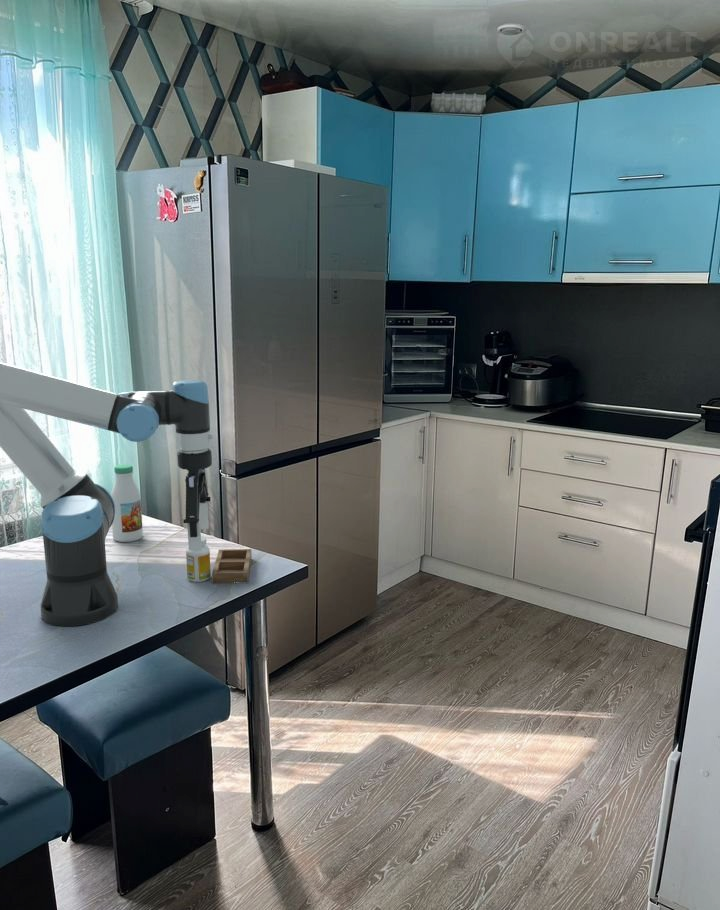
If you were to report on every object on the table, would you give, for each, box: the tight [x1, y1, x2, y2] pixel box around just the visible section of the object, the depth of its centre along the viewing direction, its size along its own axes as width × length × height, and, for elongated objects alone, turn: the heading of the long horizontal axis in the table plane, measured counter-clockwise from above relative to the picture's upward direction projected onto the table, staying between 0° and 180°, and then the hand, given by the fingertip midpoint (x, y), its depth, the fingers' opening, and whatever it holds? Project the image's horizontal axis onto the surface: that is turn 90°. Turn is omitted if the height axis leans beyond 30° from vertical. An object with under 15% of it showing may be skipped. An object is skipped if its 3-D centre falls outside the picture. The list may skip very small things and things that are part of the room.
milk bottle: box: [110, 463, 144, 543], centre depth 192 cm, size 8×8×20 cm
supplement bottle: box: [185, 535, 212, 583], centre depth 168 cm, size 5×5×10 cm
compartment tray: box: [211, 548, 253, 585], centre depth 173 cm, size 15×8×2 cm, turn 5°
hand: (199, 538), depth 167 cm, fingers open, 13 cm apart
